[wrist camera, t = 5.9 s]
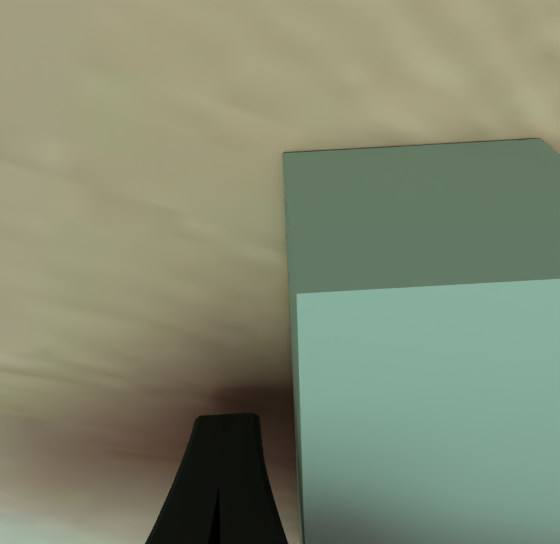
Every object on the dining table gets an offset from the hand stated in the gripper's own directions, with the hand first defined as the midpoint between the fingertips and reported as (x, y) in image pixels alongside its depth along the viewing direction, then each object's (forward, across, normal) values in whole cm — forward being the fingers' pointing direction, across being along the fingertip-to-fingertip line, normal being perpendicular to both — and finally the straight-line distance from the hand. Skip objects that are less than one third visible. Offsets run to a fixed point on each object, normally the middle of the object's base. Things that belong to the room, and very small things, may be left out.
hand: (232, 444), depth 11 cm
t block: (+1, -7, 0) cm, 7 cm away
